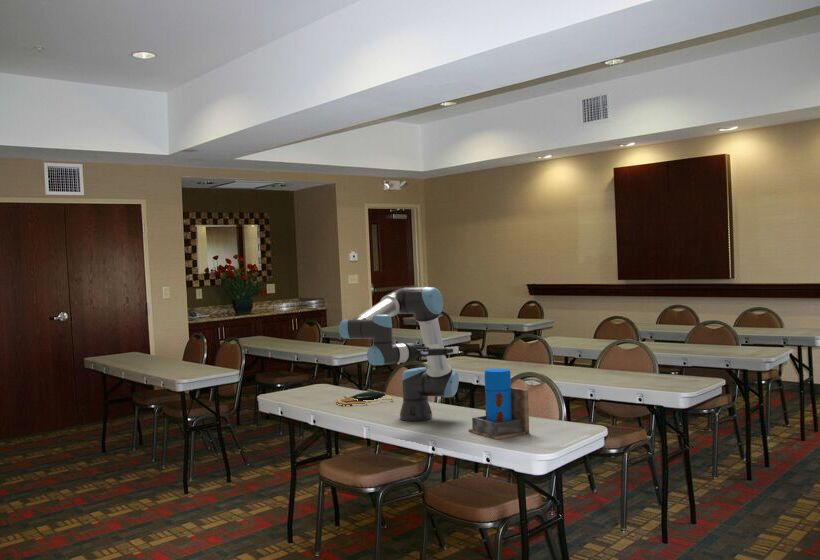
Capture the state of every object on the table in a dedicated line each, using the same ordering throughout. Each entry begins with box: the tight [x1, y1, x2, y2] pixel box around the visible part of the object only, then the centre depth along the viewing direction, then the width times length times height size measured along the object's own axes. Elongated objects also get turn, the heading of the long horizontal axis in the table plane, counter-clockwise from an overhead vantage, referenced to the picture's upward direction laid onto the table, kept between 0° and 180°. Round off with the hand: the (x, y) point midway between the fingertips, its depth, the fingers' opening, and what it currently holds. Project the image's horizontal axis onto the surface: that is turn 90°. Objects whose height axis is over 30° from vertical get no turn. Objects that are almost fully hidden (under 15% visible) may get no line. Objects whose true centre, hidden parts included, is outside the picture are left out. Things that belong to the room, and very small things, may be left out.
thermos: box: [484, 368, 512, 423], centre depth 295 cm, size 11×11×25 cm
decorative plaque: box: [336, 388, 393, 405], centre depth 377 cm, size 30×7×20 cm
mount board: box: [467, 386, 530, 440], centre depth 294 cm, size 19×17×18 cm
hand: (448, 348), depth 291 cm, fingers open, 13 cm apart
